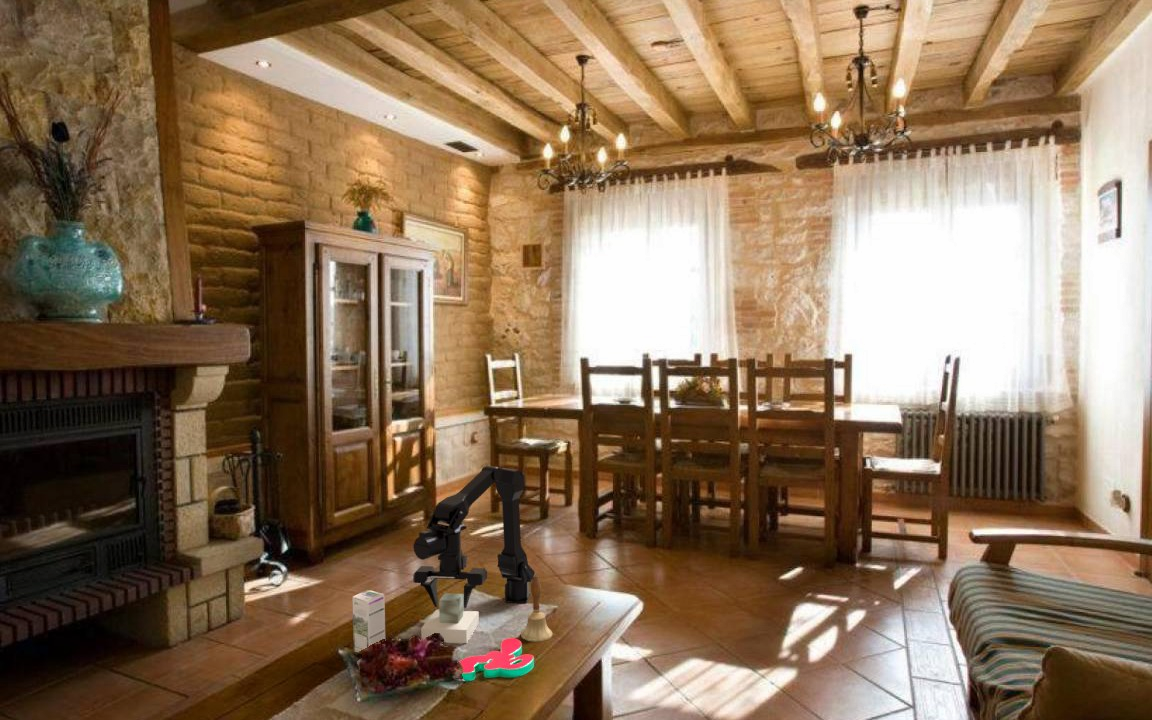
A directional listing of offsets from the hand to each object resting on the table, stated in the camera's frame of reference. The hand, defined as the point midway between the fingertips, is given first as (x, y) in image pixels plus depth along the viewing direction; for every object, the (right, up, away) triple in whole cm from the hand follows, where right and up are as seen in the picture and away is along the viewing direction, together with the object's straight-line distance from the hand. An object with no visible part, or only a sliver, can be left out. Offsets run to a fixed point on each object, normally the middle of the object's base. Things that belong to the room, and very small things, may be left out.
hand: (450, 607), depth 184 cm
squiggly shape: (+13, -8, -18) cm, 24 cm away
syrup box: (-18, -8, -11) cm, 23 cm away
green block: (0, -3, 0) cm, 3 cm away
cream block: (0, -7, 0) cm, 7 cm away
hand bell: (+23, -7, -2) cm, 24 cm away
